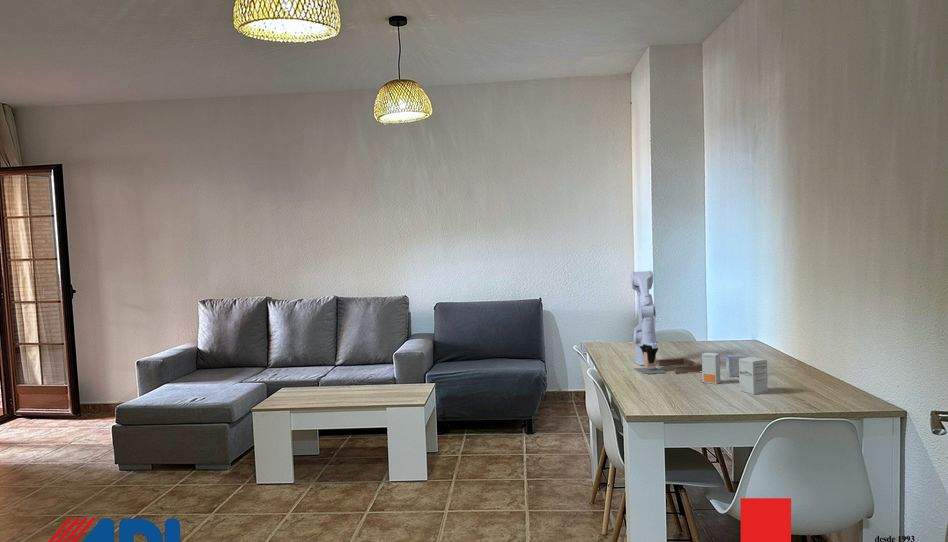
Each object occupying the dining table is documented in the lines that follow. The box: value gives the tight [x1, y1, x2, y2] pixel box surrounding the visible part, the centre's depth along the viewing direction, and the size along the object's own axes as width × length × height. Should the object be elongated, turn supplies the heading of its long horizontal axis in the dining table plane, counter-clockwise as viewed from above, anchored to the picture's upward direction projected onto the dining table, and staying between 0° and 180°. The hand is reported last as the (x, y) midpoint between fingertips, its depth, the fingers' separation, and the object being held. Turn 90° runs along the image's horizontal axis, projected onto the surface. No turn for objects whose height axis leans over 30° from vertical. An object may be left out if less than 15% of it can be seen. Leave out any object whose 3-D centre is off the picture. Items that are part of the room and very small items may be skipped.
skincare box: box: [701, 352, 721, 385], centre depth 284 cm, size 6×4×12 cm
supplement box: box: [738, 356, 769, 395], centre depth 265 cm, size 7×7×13 cm
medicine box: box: [725, 354, 749, 378], centre depth 295 cm, size 8×4×9 cm, turn 84°
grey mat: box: [633, 366, 666, 375], centre depth 313 cm, size 13×10×1 cm
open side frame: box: [657, 357, 702, 374], centre depth 315 cm, size 19×13×3 cm
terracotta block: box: [643, 352, 657, 368], centre depth 313 cm, size 4×4×6 cm
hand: (649, 362), depth 313 cm, fingers closed on terracotta block, 4 cm apart
